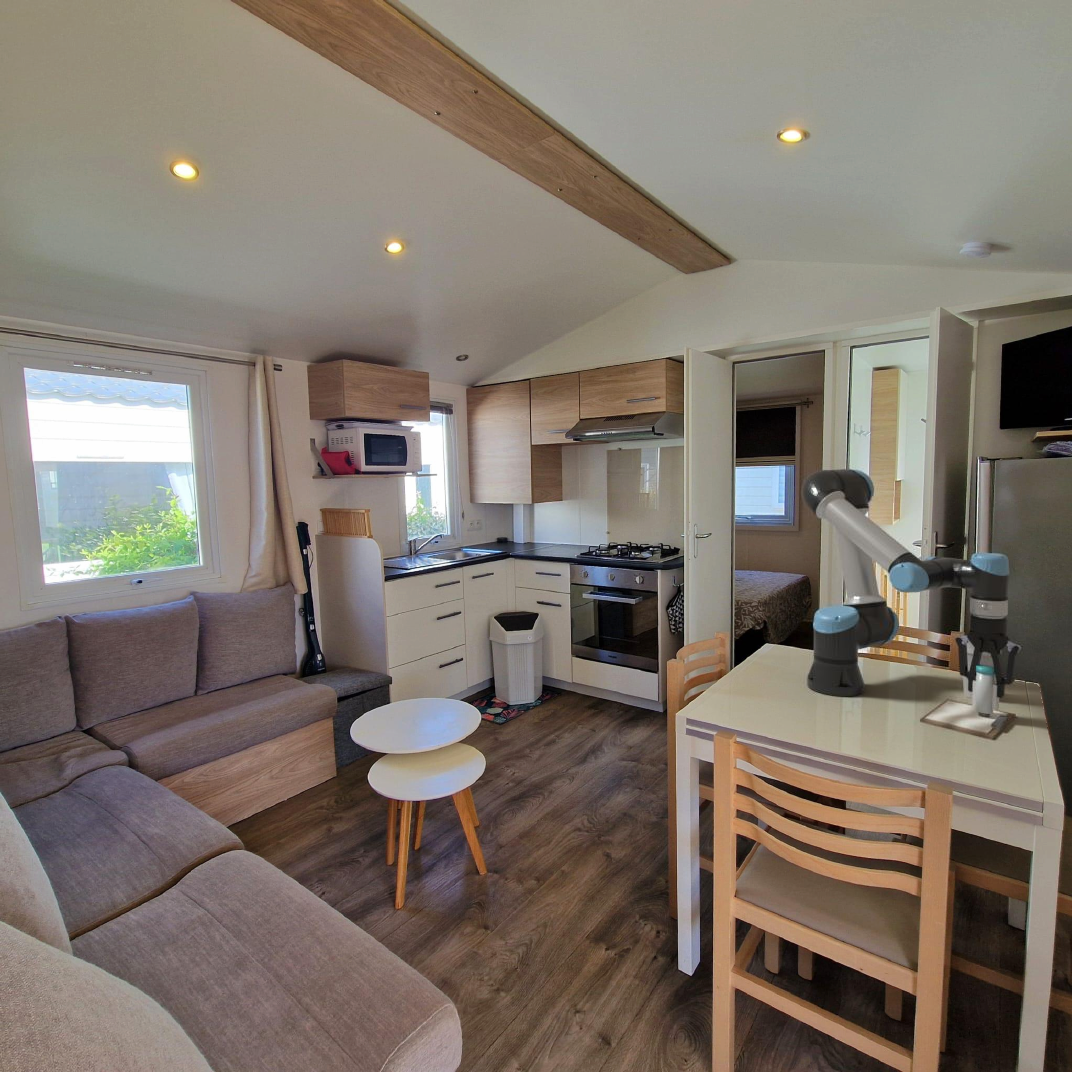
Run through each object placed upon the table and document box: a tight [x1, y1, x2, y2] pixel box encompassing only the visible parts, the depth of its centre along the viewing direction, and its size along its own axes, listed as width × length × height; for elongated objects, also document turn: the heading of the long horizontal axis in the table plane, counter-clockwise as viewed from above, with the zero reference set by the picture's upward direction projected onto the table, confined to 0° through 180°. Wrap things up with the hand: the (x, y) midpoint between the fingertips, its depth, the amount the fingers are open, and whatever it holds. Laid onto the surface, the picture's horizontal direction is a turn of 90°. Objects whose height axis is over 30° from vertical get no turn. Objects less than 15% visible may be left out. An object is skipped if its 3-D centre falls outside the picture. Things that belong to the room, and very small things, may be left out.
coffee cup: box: [962, 640, 1002, 699], centre depth 168 cm, size 10×10×15 cm
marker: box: [975, 665, 995, 717], centre depth 153 cm, size 4×4×13 cm
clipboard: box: [919, 698, 1017, 741], centre depth 154 cm, size 15×20×2 cm
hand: (985, 706), depth 154 cm, fingers closed on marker, 3 cm apart
